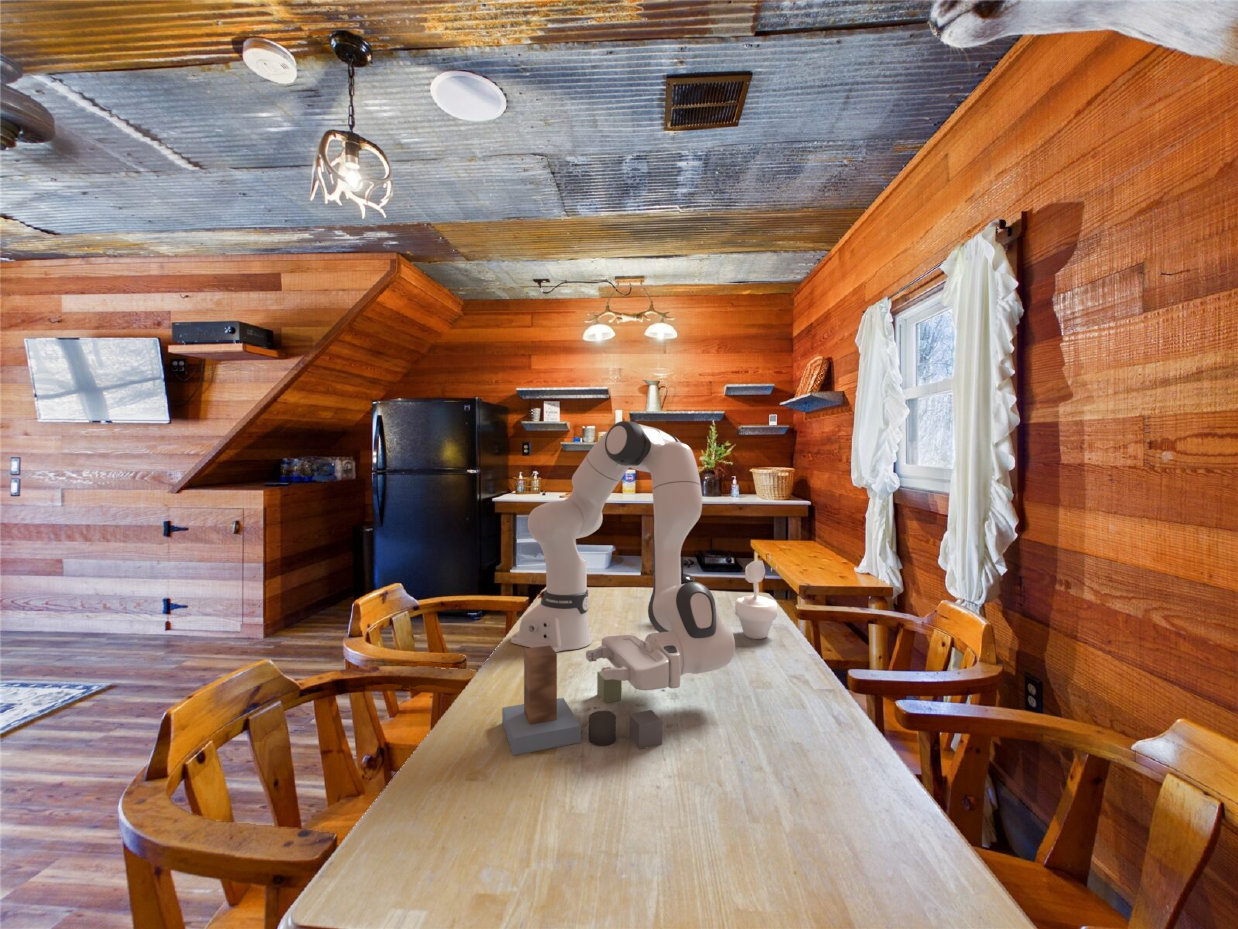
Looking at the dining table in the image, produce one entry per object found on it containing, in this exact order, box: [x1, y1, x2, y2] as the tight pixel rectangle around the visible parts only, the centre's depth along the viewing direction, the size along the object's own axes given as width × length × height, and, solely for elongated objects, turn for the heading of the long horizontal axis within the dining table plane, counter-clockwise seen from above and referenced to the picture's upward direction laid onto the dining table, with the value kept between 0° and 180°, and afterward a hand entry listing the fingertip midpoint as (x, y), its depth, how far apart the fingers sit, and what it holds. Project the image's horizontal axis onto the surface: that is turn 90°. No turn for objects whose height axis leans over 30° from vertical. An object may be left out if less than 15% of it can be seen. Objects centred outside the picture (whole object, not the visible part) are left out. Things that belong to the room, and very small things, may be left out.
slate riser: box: [501, 697, 582, 756], centre depth 100 cm, size 12×12×3 cm
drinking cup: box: [680, 556, 696, 585], centre depth 168 cm, size 8×8×20 cm
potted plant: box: [734, 554, 779, 640], centre depth 155 cm, size 13×12×25 cm
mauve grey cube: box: [628, 709, 663, 750], centre depth 97 cm, size 4×4×4 cm
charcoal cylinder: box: [587, 710, 617, 747], centre depth 98 cm, size 5×5×4 cm
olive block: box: [596, 670, 623, 704], centre depth 115 cm, size 4×4×5 cm
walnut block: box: [523, 646, 558, 725], centre depth 100 cm, size 5×5×12 cm
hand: (594, 665), depth 104 cm, fingers open, 8 cm apart
